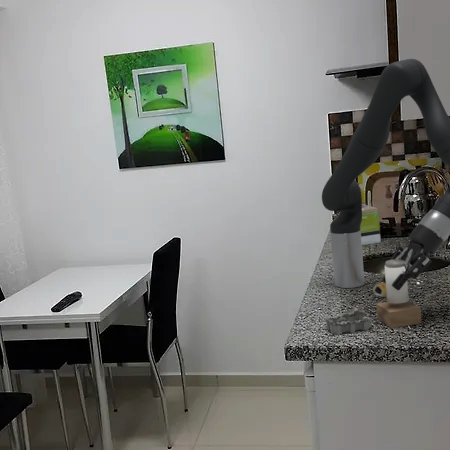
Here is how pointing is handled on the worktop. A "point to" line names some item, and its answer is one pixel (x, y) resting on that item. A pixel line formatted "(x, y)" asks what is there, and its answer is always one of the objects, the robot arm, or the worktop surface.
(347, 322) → the egg carton
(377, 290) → the pastry
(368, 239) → the tea box
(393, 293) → the spice jar
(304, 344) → the worktop surface
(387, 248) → the worktop surface
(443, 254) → the worktop surface
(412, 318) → the walnut block
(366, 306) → the worktop surface
